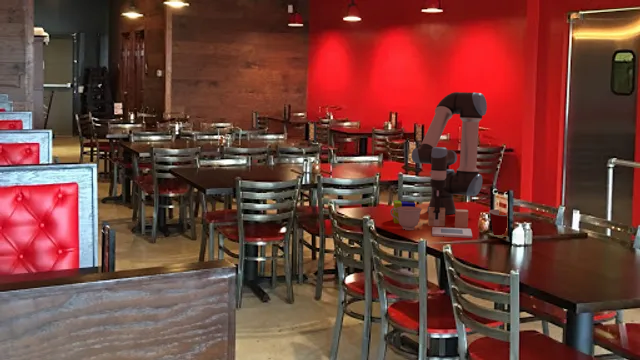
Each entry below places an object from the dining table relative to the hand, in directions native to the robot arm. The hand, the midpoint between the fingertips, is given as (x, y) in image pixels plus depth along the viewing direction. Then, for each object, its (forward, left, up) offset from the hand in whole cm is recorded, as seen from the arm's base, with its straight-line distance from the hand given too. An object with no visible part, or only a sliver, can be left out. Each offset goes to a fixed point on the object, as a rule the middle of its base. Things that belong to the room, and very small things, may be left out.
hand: (436, 224), depth 399 cm
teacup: (+22, +2, 0) cm, 22 cm away
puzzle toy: (+9, -14, -1) cm, 17 cm away
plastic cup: (-3, +39, 0) cm, 39 cm away
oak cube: (0, 0, 0) cm, 0 cm away
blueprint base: (+10, +21, 0) cm, 23 cm away
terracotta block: (-7, +10, 0) cm, 12 cm away
